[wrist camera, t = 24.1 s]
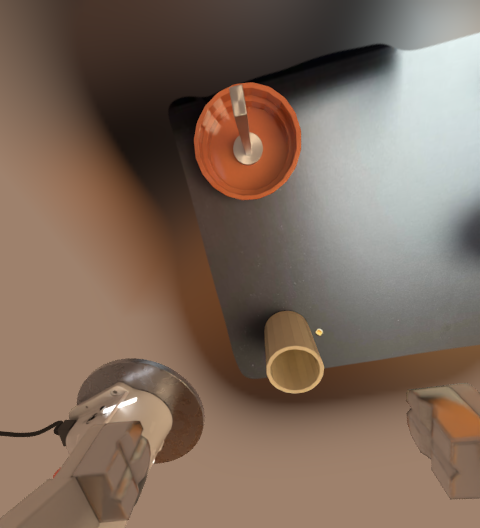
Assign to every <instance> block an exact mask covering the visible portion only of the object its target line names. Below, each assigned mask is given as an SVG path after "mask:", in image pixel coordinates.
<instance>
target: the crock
mask: <svg viewBox="0 0 480 528" xmlns="http://www.w3.org/2000/svg"><path fill="white" fill-rule="evenodd" d="M264 338H265V355H266V373H267V376H268V378H269V381H270V382H271V383H272V384H273V385H274V386H275V387H276V388H277V389H279V390H282V391H284V392H287V393H303V392H306V391H308V390H311V389H313V388H314V387H315V386H316V385H317V384H318V383H319V382H320V380H321V378H322V376H323V372H324V365H323V363H322V360H321V357H320V355H319V352H318V349H317V347H316V344H315V341H314V339H313V336H312V333H311V331H310V328H309V326H308V323H307V321H306V320H305V318H304V317H303V316H301V315H300V314H298V313H296V312H292V311H281V312H278V313H276V314H274V315H273V316H271V317H270V318H269V319H268V321H267V322H266V324H265V328H264Z"/></svg>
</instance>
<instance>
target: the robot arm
mask: <svg viewBox="0 0 480 528" xmlns="http://www.w3.org/2000/svg"><path fill="white" fill-rule="evenodd" d="M406 401H407V403H408V404H409V405H410V407H411V409H410V410H409V411H408V412H407V423H408V427H409V430H410V433H411V436H412V438H413V440H414V442H415V444H416V445H417V447H418V449H419V450H420V452H421V453H423V454H424V455H426V456H427V457H428V458H430V459H431V461H432V471H433V473H434V474H435V476H436V478H437V479H438V481H439V482H440V484H441V486H442V487H443V488H444V490H445V492H446V494H447V495H448V497H449V498H450V499H475V498H480V393H479V392H478V391H477V390H476V389H475V388H474V387H473V386H472V385H469V384H467V383H461V384H453V385H446V386H436V387H429V388H420V389H411V390H408V392H407V393H406ZM69 419H70V420H65V421H64V422H63V421H57V422H55V423H53V424H51V425H50V426H48V427H46V428H44V429H42V430H40V431H36V432H31V433H13V432H1V431H0V436H10V437H30V436H36V435H39V434H41V433H44V432H46V431H48V430H50V429H51V428H53V427H55V426H56V427H55V429H54V433H55V434H56V435H60V438H61V441H62V443H63V446H66V448H67V450H68V453H69V454H70V455H69V457H68V458H67V460H66V461H65V463H64V464H63V465H62V467H61V468H60V469H59V470H57V472H56V473H55V475H54V476H53V479H49V480H47V481H46V482H45V483H43V484H42V485H41V486H39V487H38V488H37V489H36V490H35V491H33V492H32V493H31V494H30V495H28V496H27V497H26V498H25V499H23V500H22V501H21V502H20V503H18V504H17V505H16V506H15V507H14V508H13V509H11V510H10V511H9V512H7V513H6V514H5V515H4V516H2V517H1V518H0V528H125V526H126V523H127V521H128V520H129V518H130V515H131V512H132V510H133V507H134V506H135V504H136V503H137V501H138V498H139V497H140V494H141V492H142V489H143V486H144V484H145V481H146V477H147V474H148V472H149V470H150V468H151V466H152V464H153V463H154V460H155V457H156V455H157V453H158V452H159V451H161V449H162V447H163V444H164V439H165V438H166V436H167V435H168V433H169V431H170V430H171V427H172V422H173V420H172V415H171V412H170V410H169V408H168V407H167V405H166V404H165V403H164V402H163V401H162V400H161V399H160V398H158V397H157V396H155V395H153V394H151V393H149V392H146V391H142V390H137V389H134V388H132V387H130V386H128V385H126V384H124V383H122V382H118V383H116V384H114V385H112V386H110V387H109V388H107V389H105V390H103V391H102V392H100V393H98V394H96V395H95V396H93V397H91V398H89V399H88V400H86V401H84V402H82V403H81V404H79V405H77V406H75V407H74V408H72V409H71V411H70V412H69Z"/></svg>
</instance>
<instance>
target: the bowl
mask: <svg viewBox="0 0 480 528" xmlns="http://www.w3.org/2000/svg"><path fill="white" fill-rule="evenodd" d="M237 85H242V86H243V91H244V97H245V103H246V109H247V116H248V125H249V132H251V133H254V134H256V135H257V136H258V137H259V138H260V139H261V141H262V145H263V152H262V156H261V158H260V159H259V161H258V162H256V163H255V164H253V165H243V164H241V163H240V162H239V161H238V160H237V159H236V157H235V155H234V152H233V145H234V142H235V140H236V138H237V137H238V136H239V135H240V134H239V131H238V128H237V125H236V122H235V118H234V114H233V109H232V103H231V97H230V92H229V88H230V87H232V86H237ZM232 86H230V87H228V88H226V89H224V90H222V91H220V92H218V93H217V94H216V95H215V96H214V97H213V98H212V99H211V100H210V101H209V102H208V103H207V104H206V106H205V107H204V109H203V111H202V113H201V115H200V117H199V119H198V121H197V125H196V131H195V136H194V147H195V155H196V160H197V162H198V165H199V167H200V169H201V172H202V174H203V176H204V177H205V178H206V179H207V180H208V182H209V183H210V184H211V185H212V186H213V187H214V188H215V189H217V190H218V191H220V192H221V193H223V194H225V195H226V196H228V197H232V198H236V199H240V200H250V199H259V198H262V197H264V196H267V195H269V194H271V193H273V192H275V191H276V190H277V189H278V188H279V187H281V186H282V185H283V184H284V183H285V182H286V181H287V180H288V178H289V177H290V175H291V174H292V172H293V171H294V169H295V167H296V165H297V161H298V158H299V154H300V151H301V129H300V126H299V123H298V120H297V116H296V113H295V111H294V110H293V109H292V107H291V106H290V104H289V103H288V102H287V100H286V99H285V98H284V97H283V96H282V95H280V94H279V93H278V92H276V91H275V90H273V89H272V88H270V87H268V86H264V85H260V84H256V83H252V82H251V83H242V84H235V85H232Z"/></svg>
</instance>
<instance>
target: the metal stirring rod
mask: <svg viewBox="0 0 480 528" xmlns="http://www.w3.org/2000/svg"><path fill="white" fill-rule="evenodd" d="M229 92H230V97H231V103H232V109H233V114H234V118H235V122H236V125H237V128H238V131H239V134H240V135H239V136H238V137H237V138H236V140H235V142H234V145H233V152H234V155H235V157H236V159H237V160H238V161H239V162H240V163H241V164H243V165H253V164H255V163H256V162H258V161H259V159H260V158H261V156H262V152H263V145H262V141H261V139H260V138H259V137H258V136H257V135H256V134H254V133H251V132H249V125H248V116H247V109H246V103H245V97H244V91H243V86H242V85H237V86H232V87H230V88H229Z"/></svg>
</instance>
